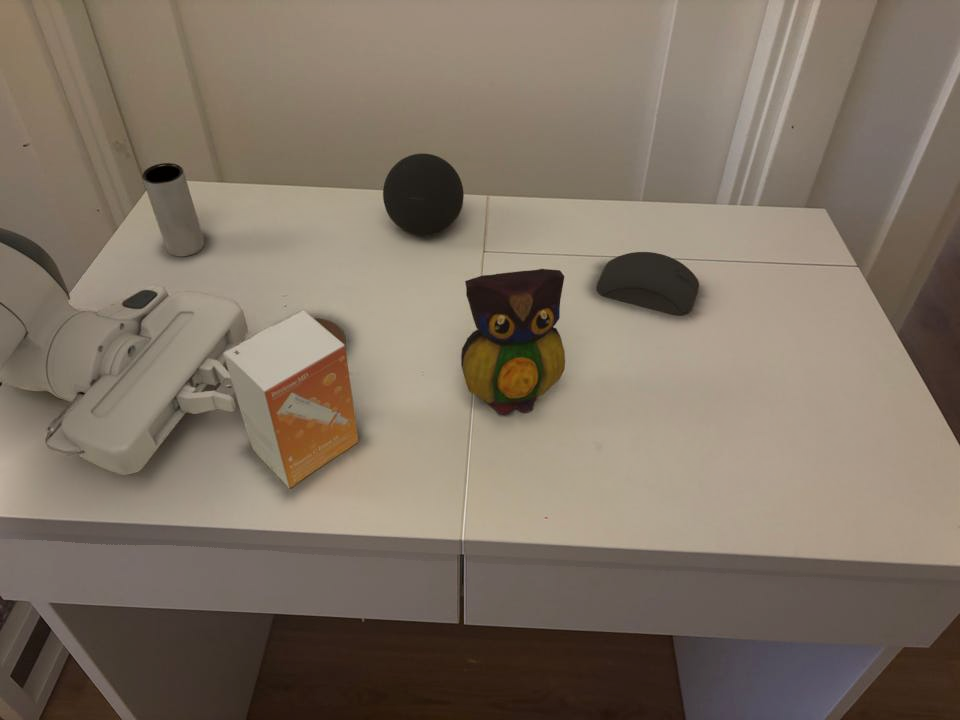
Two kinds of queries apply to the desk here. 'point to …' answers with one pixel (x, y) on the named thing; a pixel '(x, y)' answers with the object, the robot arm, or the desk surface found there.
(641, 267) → the computer mouse
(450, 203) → the speaker
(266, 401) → the small box
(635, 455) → the desk surface
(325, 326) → the coaster
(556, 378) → the figurine
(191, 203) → the grey cylinder
